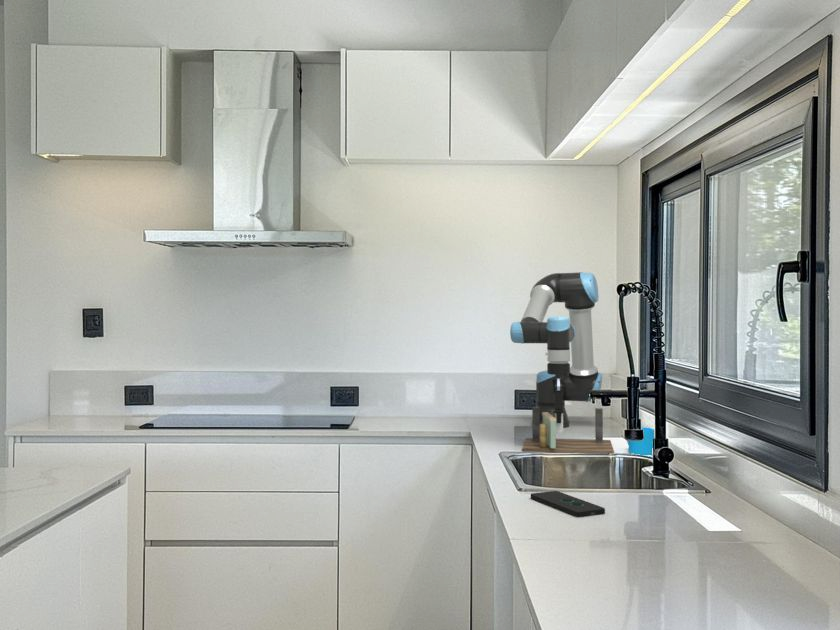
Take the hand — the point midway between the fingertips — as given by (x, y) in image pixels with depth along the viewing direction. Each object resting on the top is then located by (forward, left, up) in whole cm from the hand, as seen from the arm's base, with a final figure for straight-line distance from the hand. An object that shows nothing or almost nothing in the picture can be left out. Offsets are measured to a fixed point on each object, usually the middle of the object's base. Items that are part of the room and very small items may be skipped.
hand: (559, 432), depth 253 cm
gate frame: (-9, +3, -6) cm, 11 cm away
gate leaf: (-5, -4, -5) cm, 8 cm away
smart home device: (+74, +3, -7) cm, 74 cm away
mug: (-2, +26, -7) cm, 27 cm away
